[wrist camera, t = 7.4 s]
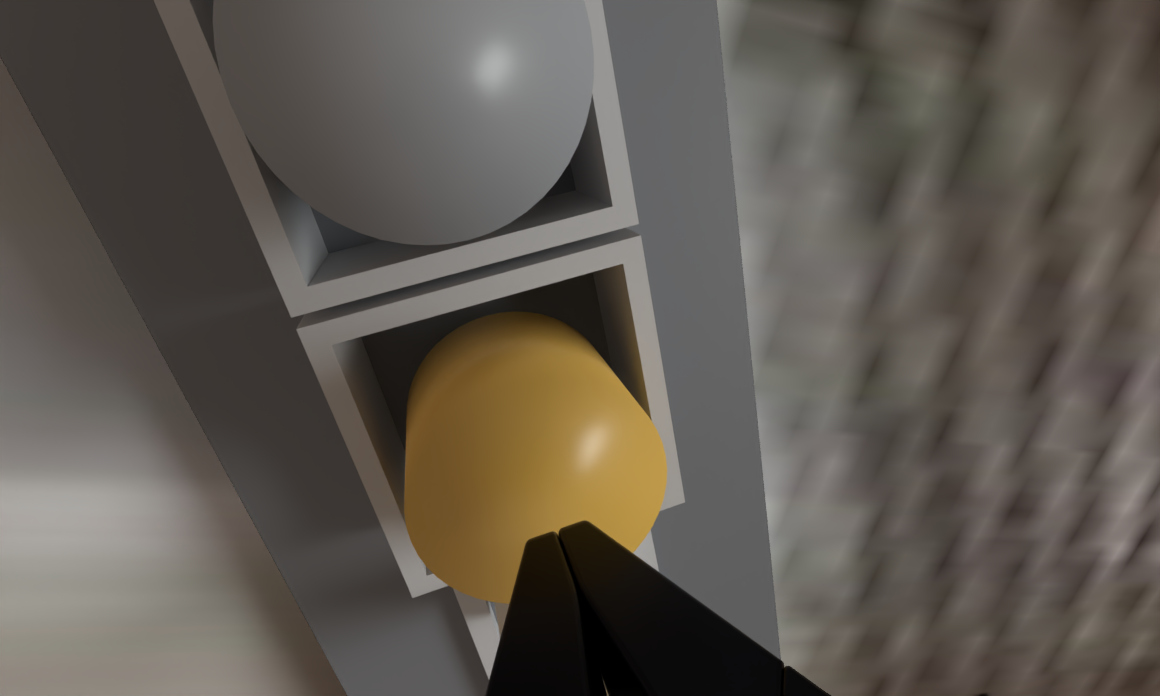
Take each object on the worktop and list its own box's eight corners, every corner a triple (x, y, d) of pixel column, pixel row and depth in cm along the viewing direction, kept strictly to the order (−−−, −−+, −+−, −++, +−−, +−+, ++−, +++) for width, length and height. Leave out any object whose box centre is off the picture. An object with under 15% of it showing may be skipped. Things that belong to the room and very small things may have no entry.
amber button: (625, 460, 13) (682, 552, 10) (442, 522, 12) (450, 638, 9) (589, 286, 11) (644, 340, 8) (376, 346, 11) (362, 426, 8)
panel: (760, 707, 23) (835, 834, 19) (455, 835, 21) (465, 1006, 17) (654, -157, 12) (775, -296, 8) (8, -51, 10) (-256, -163, 6)
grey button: (566, 179, 10) (621, 200, 8) (334, 237, 10) (304, 282, 7) (509, -95, 9) (552, -192, 6) (227, -46, 8) (133, -128, 5)
